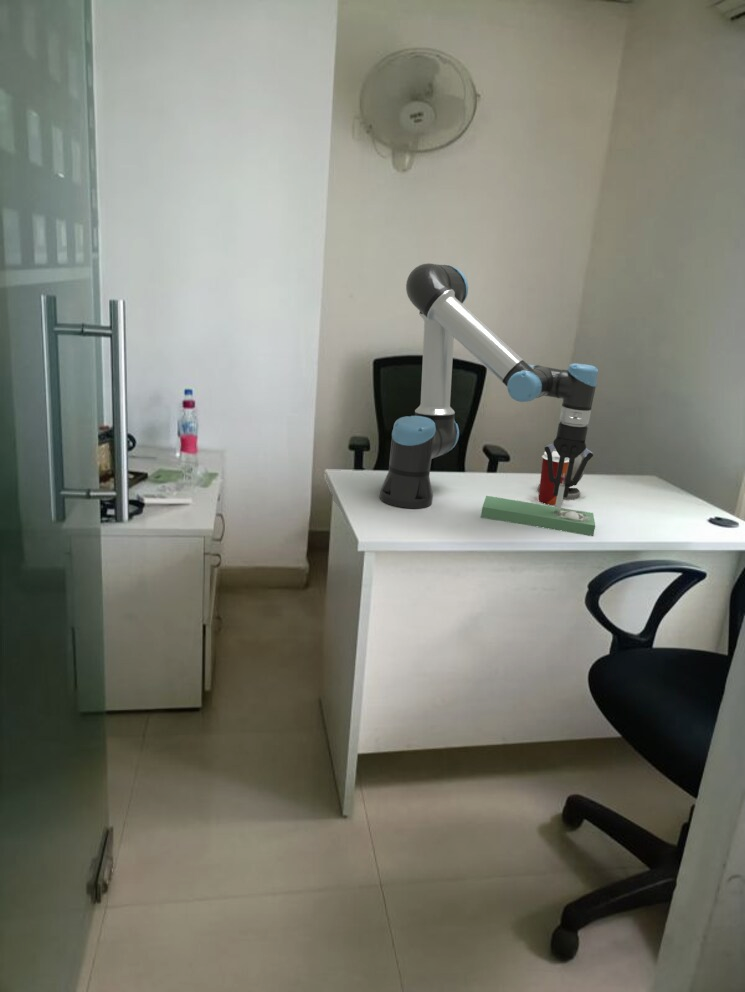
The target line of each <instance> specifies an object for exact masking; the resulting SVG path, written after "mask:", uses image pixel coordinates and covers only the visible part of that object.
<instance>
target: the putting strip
mask: <svg viewBox="0 0 745 992" xmlns="http://www.w3.org/2000/svg"><path fill="white" fill-rule="evenodd" d="M570 511H573V512H576V513H577V514H578V516H579V519H570V518H566V517H564V516H565V514H566V513H567V512H570ZM480 518H482V519H489V520H496V521H502V522H507V523H512V524H513V523H514V524H519V525H524V524H525V525H526V526H530V525H531V526H532V527H536V526H538V528H542V527H544V528H543V529H548V528H549V529H550V530H554V529H555V530H554V531H560V530H562V531H561V532H566V531H567V532H568V533H574V534H579V535H584V536H590V535H591V537H594V535H595V534H594V533H595V530H596V529H595V528H596V522H595V515H594V512H589V511H583V510H578V509H577V510H576V509H571V508H565V507H561V509H555V506H554V505H548V504H542V503H541V504H540V503H535V502H534V503H533V502H528V501H521V500H515V499H511V498H510V499H508V498H503V497H498V496H492V495H486V496H485V498H484V500H483V504H482V509H481V514H480Z"/></svg>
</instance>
